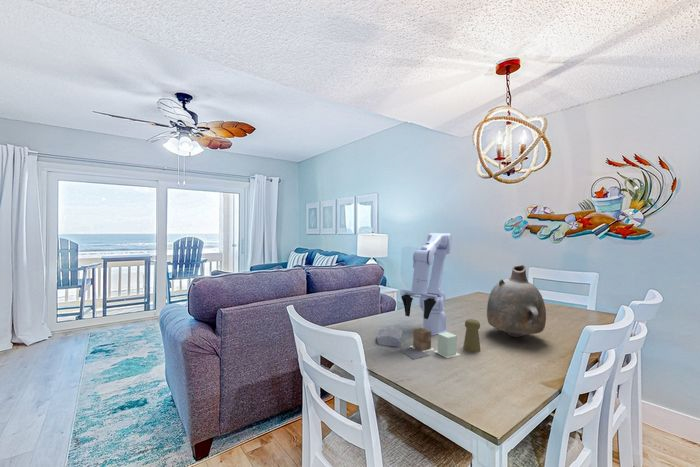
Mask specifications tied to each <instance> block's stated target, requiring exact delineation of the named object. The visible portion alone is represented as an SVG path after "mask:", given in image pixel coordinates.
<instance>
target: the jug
mask: <svg viewBox="0 0 700 467" xmlns="http://www.w3.org/2000/svg"><path fill="white" fill-rule="evenodd" d="M526 268H527V267H526V266H525V265H524V264H521V265H517V266H516V265H515V266H513V267H512V269H511V271H512V272H511V275H510V277H509V278H506V279H503V278H501V279H500V280H498V282H497V283H496V284H495V285H494V286H493V287H492V289H491V291H490V293H489V296H488V300H487V305H486V318H487V322H488V324H489V325H490V326H491V327H493V328H494V329H497V330H500V331H503V332H505V333H507V334H508V335H510V336H512V337H514V338H518V337H522V336H527V335H535V334H540V333H542V332H543V331H544V330H545V328H546V321H547V310H546V305H545V301H544V298H543V295H542V294H541V292H540V290H539V289H538V288H537V287H536V286H535V285H534V284H532V283H530V282H529V281H528V279H527V273H526V270H527V269H526Z"/></svg>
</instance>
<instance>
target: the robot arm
mask: <svg viewBox="0 0 700 467" xmlns="http://www.w3.org/2000/svg"><path fill="white" fill-rule="evenodd" d="M452 238H453V237H452V234H451V233H450V232H447V233H443V232H442V233H441V232H429V233H428V235H427V239H426V240H427V241H425V242H424V243H423V244H422V246H421V247H420V249H416V250H414V252H413V254H412V268H413V276H412V284H411V290H407V289H400V292H399V295H400V298H401V301H402V305H403V308H404V313H405V315H404V316H406V317H410V315H411V307H412V302H413V300H414V298H418V299H419V302H418V303H419V305H418V306H419V308H420V309H421V312H422V315H423V316H422V328H425V329H427V330H429V331H431V336H435V335H437V336H438V334H439V333H444V332H448V330H447V315H446V313H445V311H444V310H445V307H446V295H445V293H444V292H443V291H442V290H441V284H442V277H443V273H444V271H443V270H444V265H445V259H446V256H447V255H449V254H450V253H451V250H452V243H453V239H452ZM431 265H432V267H431V268H430V266H431ZM430 269H431V273H430ZM429 276H430V278H429Z"/></svg>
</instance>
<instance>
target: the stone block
mask: <svg viewBox="0 0 700 467" xmlns="http://www.w3.org/2000/svg"><path fill="white" fill-rule="evenodd" d="M375 337H376V342H377V343H378V345H380V346H390V347H402V340H403V330H402V329H396V328H389V327H388V328H383V329H380V330H379V331H378V333H377V335H376V336H375Z"/></svg>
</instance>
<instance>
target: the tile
mask: <svg viewBox="0 0 700 467" xmlns="http://www.w3.org/2000/svg"><path fill="white" fill-rule="evenodd" d="M433 352H434V353H436V354H439V355H440V356H442V357H444V358H446V359H449V358H454V357H456V356H461V354H460V353H458V352H457V353H456V354H455V355H451V356H445V355H443V354H441V353H440V352H438V349H437V350H433Z"/></svg>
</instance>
